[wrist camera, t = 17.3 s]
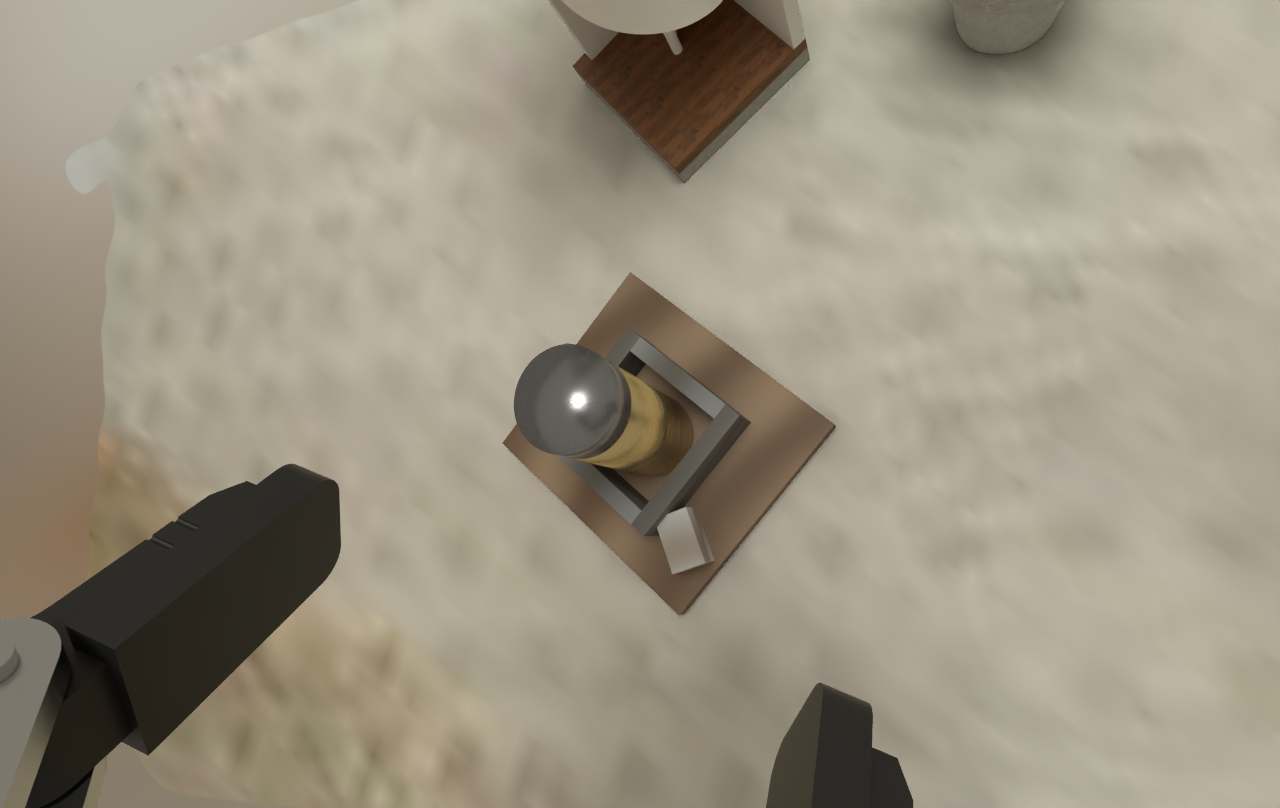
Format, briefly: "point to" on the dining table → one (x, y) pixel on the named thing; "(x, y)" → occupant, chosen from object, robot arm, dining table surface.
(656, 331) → the socket base
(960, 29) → the house plant
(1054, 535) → the dining table surface
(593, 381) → the capped cylinder
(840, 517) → the dining table surface
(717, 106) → the white tall stand
